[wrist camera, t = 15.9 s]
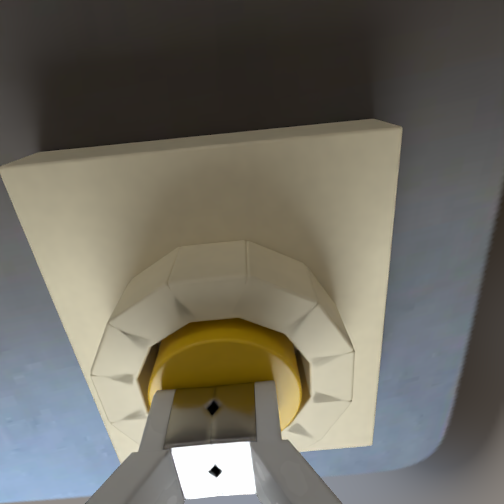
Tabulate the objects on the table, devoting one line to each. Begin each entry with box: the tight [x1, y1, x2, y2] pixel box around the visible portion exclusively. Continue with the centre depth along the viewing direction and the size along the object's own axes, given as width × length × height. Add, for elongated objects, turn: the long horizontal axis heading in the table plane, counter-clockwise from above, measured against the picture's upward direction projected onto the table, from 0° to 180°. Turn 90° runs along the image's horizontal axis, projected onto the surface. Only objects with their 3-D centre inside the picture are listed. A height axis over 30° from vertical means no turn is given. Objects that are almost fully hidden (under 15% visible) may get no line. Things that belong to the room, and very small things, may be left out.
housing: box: [0, 119, 403, 464], centre depth 11 cm, size 12×10×4 cm
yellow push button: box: [148, 318, 302, 432], centre depth 10 cm, size 4×4×2 cm
